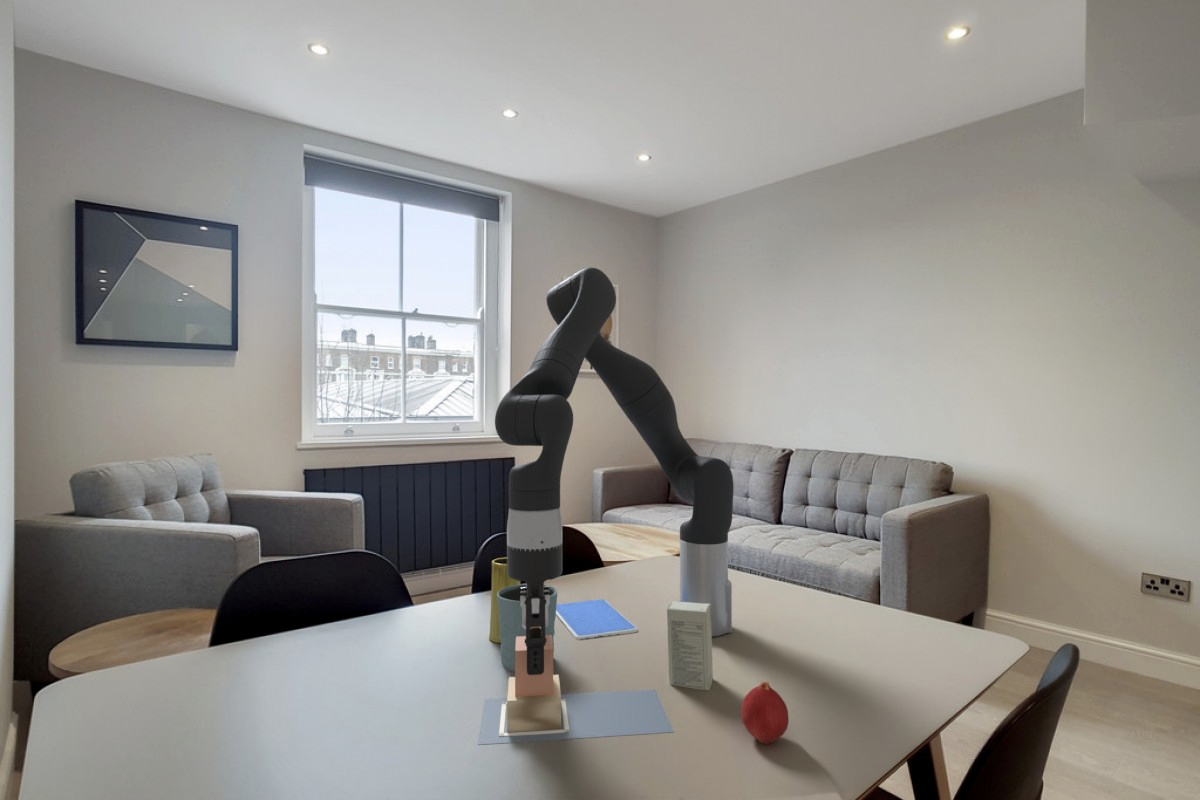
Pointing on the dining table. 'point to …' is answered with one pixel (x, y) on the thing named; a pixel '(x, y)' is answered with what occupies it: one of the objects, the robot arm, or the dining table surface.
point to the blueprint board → (583, 718)
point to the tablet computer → (593, 619)
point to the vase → (498, 583)
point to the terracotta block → (533, 683)
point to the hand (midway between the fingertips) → (535, 660)
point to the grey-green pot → (518, 621)
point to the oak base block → (533, 709)
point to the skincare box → (690, 645)
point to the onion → (764, 713)
